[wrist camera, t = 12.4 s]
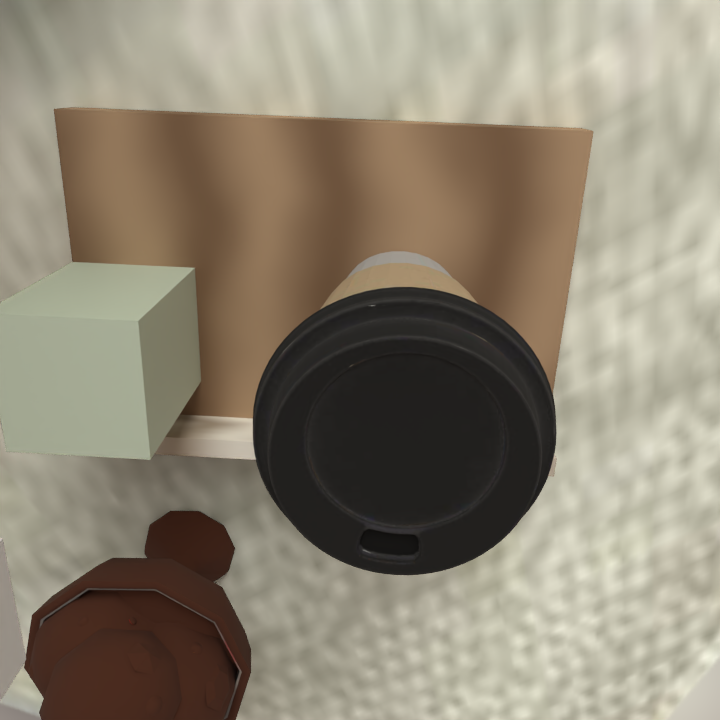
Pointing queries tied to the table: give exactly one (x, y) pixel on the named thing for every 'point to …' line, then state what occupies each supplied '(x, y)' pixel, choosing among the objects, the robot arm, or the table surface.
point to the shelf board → (317, 226)
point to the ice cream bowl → (145, 633)
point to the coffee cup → (404, 421)
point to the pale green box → (98, 360)
